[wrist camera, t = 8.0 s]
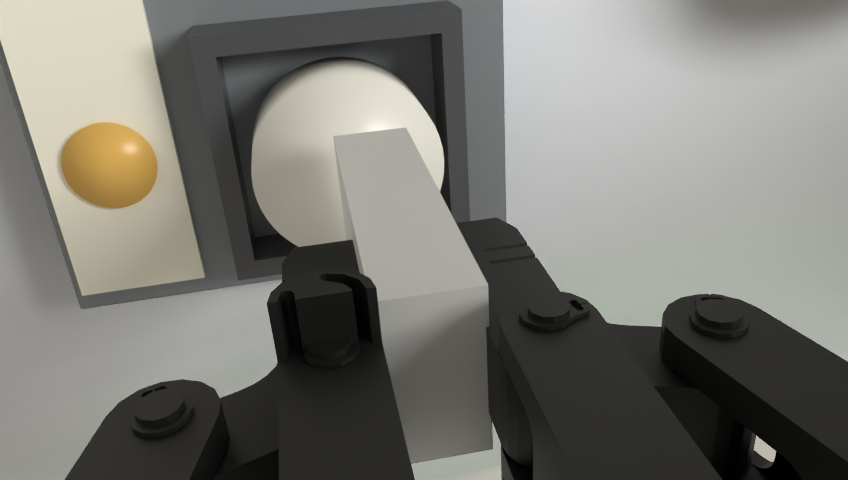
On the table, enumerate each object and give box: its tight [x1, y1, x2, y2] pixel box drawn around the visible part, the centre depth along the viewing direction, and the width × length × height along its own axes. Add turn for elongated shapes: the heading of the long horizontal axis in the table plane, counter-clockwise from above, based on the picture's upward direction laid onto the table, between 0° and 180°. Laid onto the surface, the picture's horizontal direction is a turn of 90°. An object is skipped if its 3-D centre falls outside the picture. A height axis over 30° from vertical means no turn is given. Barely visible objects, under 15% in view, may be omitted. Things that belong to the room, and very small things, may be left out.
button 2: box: [251, 57, 444, 247], centre depth 18 cm, size 4×4×2 cm
